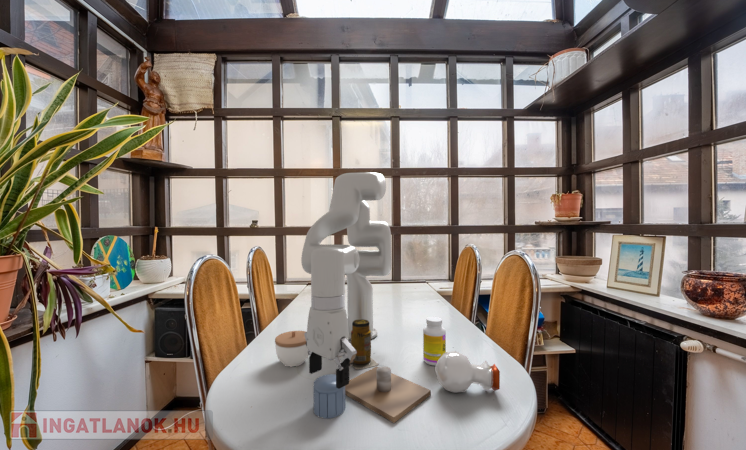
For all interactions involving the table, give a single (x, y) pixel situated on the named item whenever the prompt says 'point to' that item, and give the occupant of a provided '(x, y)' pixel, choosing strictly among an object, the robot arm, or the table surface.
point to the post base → (386, 393)
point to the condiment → (362, 344)
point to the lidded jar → (291, 348)
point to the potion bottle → (465, 373)
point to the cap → (328, 397)
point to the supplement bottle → (433, 340)
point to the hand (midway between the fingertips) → (328, 378)
